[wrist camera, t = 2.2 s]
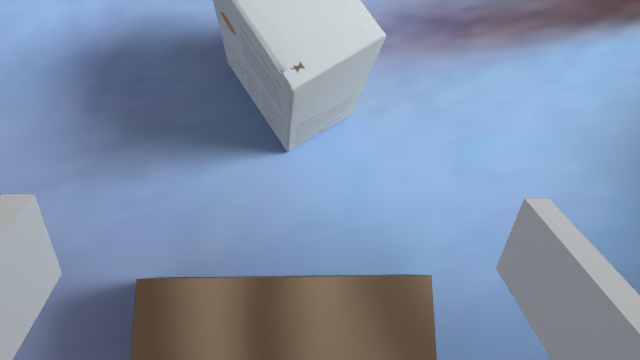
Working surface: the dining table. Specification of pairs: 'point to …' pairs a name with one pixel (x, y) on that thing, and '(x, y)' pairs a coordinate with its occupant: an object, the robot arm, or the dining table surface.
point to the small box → (300, 59)
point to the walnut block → (284, 318)
